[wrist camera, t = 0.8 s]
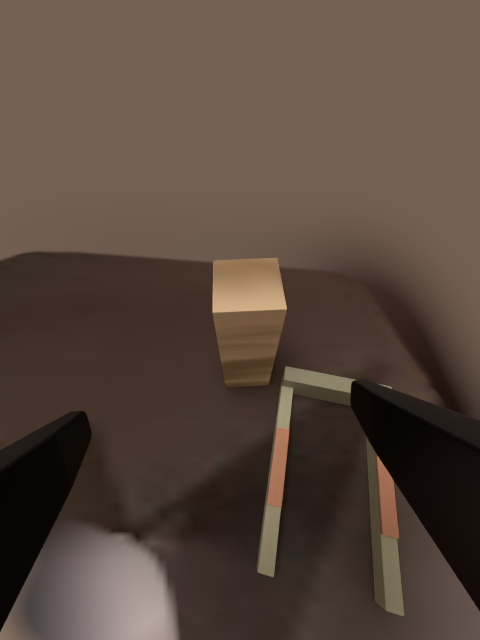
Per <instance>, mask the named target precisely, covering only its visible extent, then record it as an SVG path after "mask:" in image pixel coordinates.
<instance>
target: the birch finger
mask: <svg viewBox="0 0 480 640" xmlns="http://www.w3.org/2000/svg"><path fill="white" fill-rule="evenodd" d="M286 311H287V308H286V302H285V297H284V292H283V286H282V281H281V276H280V270H279V265H278V260H277V258H264V259H262V258H261V259H238V260H214V261H213V318H214V324H215V329H216V335H217V341H218V347H219V352H220V358H221V364H222V370H223V375H224V381H225V387H226V388H227V387H246V386H266V385H269V381H270V377H271V373H272V369H273V365H274V360H275V356H276V352H277V348H278V344H279V340H280V335H281V331H282V327H283V323H284V319H285V315H286Z"/></svg>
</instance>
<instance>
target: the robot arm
mask: <svg viewBox="0 0 480 640" xmlns="http://www.w3.org/2000/svg"><path fill="white" fill-rule="evenodd" d="M350 404H351V408H352V410H353V412H354V414H355V416H356V417H357V419H358V421H359V423H360V425H361V427H362V429H363V431H364V433H365V435H366V437H367V439H368V440H369V442H370V444H371V446H372V448H373V449H374V451H375V453H376V454H377V456H378V457H379V459H380V460H381V462H382V463H383V465H384V466H385V468H386V469H387V471H388V472H389V474H390V475H391V477H392V479H393V480H394V482H395V483H396V485H397V486H398V488H399V489H400V491H401V492H402V494H403V495H404V497H405V498H406V500H407V501H408V503H409V504H410V506H411V507H412V509H413V510H414V512H415V513H416V515H417V516H418V518H419V520H420V521H421V523H422V524H423V526H424V527H425V529H426V530H427V532H428V533H429V535H430V536H431V538H432V539H433V541H434V542H435V544H436V545H437V547H438V548H439V550H440V551H441V553H442V554H443V556H444V558H445V559H446V561H447V562H448V564H449V565H450V567H451V568H452V570H453V571H454V573H455V574H456V576H457V577H458V579H459V580H460V582H461V583H462V585H463V586H464V588H465V589H466V591H467V592H468V594H469V596H470V597H471V599H472V600H473V602H474V603H475V605H476V606H477V608H478V609H479V611H480V421H479V420H476V419H474V418H471V417H468V416H465V415H462V414H460V413H457V412H454V411H451V410H449V409H446V408H443V407H440V406H438V405H435V404H432V403H429V402H426V401H424V400H421V399H418V398H415V397H412V396H410V395H407V394H404V393H401V392H399V391H396V390H393V389H390V388H387V387H385V386H382V385H379V384H376V383H373V382H371V381H368V380H365V379H361V380H354V381H352V383H351V394H350ZM91 436H92V432H91V428H90V425H89V421H88V418H87V415H86V413H85V412H84V411H75V412H70V413H68V414H66V415H64V416H62V417H60V418H58V419H57V420H55V421H53V422H51V423H49V424H47V425H46V426H44V427H42V428H40V429H38V430H36V431H35V432H33V433H31V434H29V435H27V436H25V437H24V438H22V439H20V440H18V441H16V442H14V443H13V444H11V445H9V446H7V447H5V448H3V449H2V450H0V631H1V629H2V627H3V625H4V623H5V621H6V619H7V617H8V615H9V613H10V611H11V609H12V607H13V605H14V603H15V601H16V599H17V597H18V595H19V593H20V591H21V589H22V587H23V585H24V583H25V581H26V579H27V577H28V575H29V573H30V571H31V569H32V567H33V565H34V563H35V561H36V559H37V557H38V555H39V553H40V551H41V549H42V547H43V545H44V543H45V541H46V539H47V537H48V535H49V533H50V531H51V529H52V527H53V525H54V523H55V521H56V519H57V517H58V515H59V513H60V511H61V509H62V507H63V505H64V503H65V501H66V499H67V497H68V495H69V493H70V491H71V488H72V486H73V484H74V481H75V479H76V477H77V474H78V471H79V469H80V466H81V464H82V461H83V459H84V456H85V453H86V451H87V448H88V446H89V443H90V440H91Z"/></svg>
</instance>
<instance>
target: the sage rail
mask: <svg viewBox="0 0 480 640" xmlns="http://www.w3.org/2000/svg"><path fill="white" fill-rule="evenodd" d="M352 381H354V379H349V378H344V377H339V376H333V375H328V374H323V373H318V372H313V371H307V370H302V369H297V368H292V367H287V366H286V367H285V369H284V372H283V375H282V378H281V384H280V392H279V400H278V407H277V415H276V422H275V430H274V438H273V445H272V453H271V460H270V468H269V476H268V483H267V491H266V498H265V506H264V514H263V521H262V529H261V537H260V544H259V552H258V559H257V572H258V573H261V574H264V575H267V576H271V577H274V571H275V561H276V551H277V542H278V532H279V522H280V512H281V508H282V498H283V488H284V478H285V469H286V459H287V449H288V439H289V424H290V414H291V405H292V395H293V394H295V395H299V396H304V397H309V398H314V399H319V400H324V401H328V402H333V403H338V404H343V405H348V406H351V404H350V394H351V383H352ZM379 385H380V384H379ZM382 386H385V385H382ZM385 387H387V388H390V389H392V387H390V386H385ZM366 447H367V465H368V484H369V502H370V521H371V540H372V558H373V577H374V595H375V602H376V603H377V604H378V605H379V606H381V607H382V608H383V609H384V610H385V611H388V612H391V613H394V614H398V615H401V616H404V607H403V597H402V586H401V576H400V565H399V555H398V545H397V538H398V539H399V531H398V521H397V511H396V501H395V491H394V481H393V479H392V477H391V475H390V474H389V472H388V471H387V469H386V468H385V466H384V465H383V463H382V462H381V460H380V459H379V457H378V456H377V454H376V453H375V451H374V449H373V448H372V446H371V444H370V442H369V440H368V439H367V437H366Z"/></svg>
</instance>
